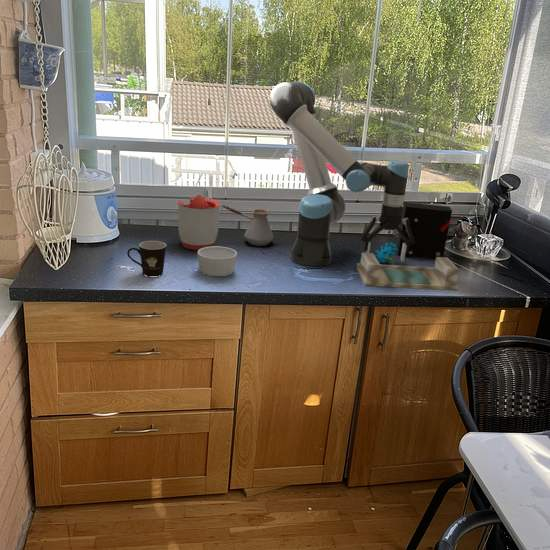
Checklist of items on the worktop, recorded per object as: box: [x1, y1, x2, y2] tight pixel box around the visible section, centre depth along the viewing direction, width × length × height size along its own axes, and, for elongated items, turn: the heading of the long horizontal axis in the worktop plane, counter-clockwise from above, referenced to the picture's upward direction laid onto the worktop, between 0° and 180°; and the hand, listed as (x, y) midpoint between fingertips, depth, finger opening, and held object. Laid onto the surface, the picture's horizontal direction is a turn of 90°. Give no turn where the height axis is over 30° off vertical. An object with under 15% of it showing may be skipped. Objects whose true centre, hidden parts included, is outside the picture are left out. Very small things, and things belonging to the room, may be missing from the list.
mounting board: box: [355, 252, 460, 291], centre depth 198 cm, size 32×16×7 cm, turn 93°
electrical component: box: [396, 201, 453, 260], centre depth 223 cm, size 18×10×20 cm, turn 84°
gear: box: [374, 242, 397, 265], centre depth 214 cm, size 11×6×10 cm
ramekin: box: [197, 245, 238, 277], centre depth 192 cm, size 13×13×7 cm
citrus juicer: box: [177, 194, 221, 251], centre depth 213 cm, size 16×17×20 cm
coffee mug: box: [127, 240, 167, 276], centre depth 185 cm, size 12×9×10 cm
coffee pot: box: [219, 204, 274, 247], centre depth 222 cm, size 21×12×15 cm, turn 99°
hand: (384, 259), depth 214 cm, fingers open, 13 cm apart
